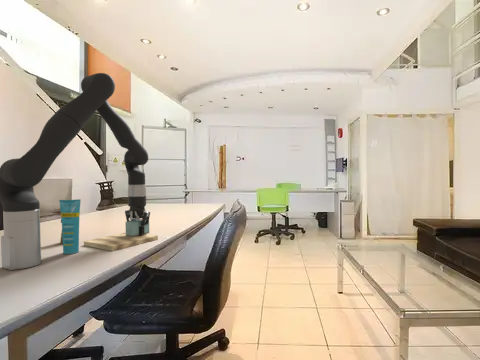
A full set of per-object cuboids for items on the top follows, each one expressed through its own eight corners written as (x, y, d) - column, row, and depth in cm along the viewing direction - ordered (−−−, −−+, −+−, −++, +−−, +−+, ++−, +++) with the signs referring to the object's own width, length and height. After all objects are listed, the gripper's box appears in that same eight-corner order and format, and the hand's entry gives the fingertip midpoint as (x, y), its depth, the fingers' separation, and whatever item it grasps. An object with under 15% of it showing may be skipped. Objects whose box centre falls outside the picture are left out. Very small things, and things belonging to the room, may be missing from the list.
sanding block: (132, 236, 127) (132, 222, 126) (125, 235, 129) (125, 221, 129) (149, 233, 134) (149, 219, 134) (142, 232, 137) (142, 218, 136)
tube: (57, 254, 106) (55, 200, 106) (63, 251, 111) (62, 199, 110) (79, 253, 107) (78, 199, 107) (84, 250, 112) (83, 198, 111)
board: (112, 250, 111) (112, 246, 111) (83, 245, 120) (83, 241, 120) (157, 239, 129) (157, 235, 129) (130, 235, 139) (129, 231, 139)
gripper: (118, 195, 132) (119, 234, 132) (141, 196, 124) (142, 237, 125) (133, 194, 138) (133, 231, 138) (155, 195, 131) (155, 234, 131)
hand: (137, 234), depth 131 cm, fingers closed on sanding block, 4 cm apart
